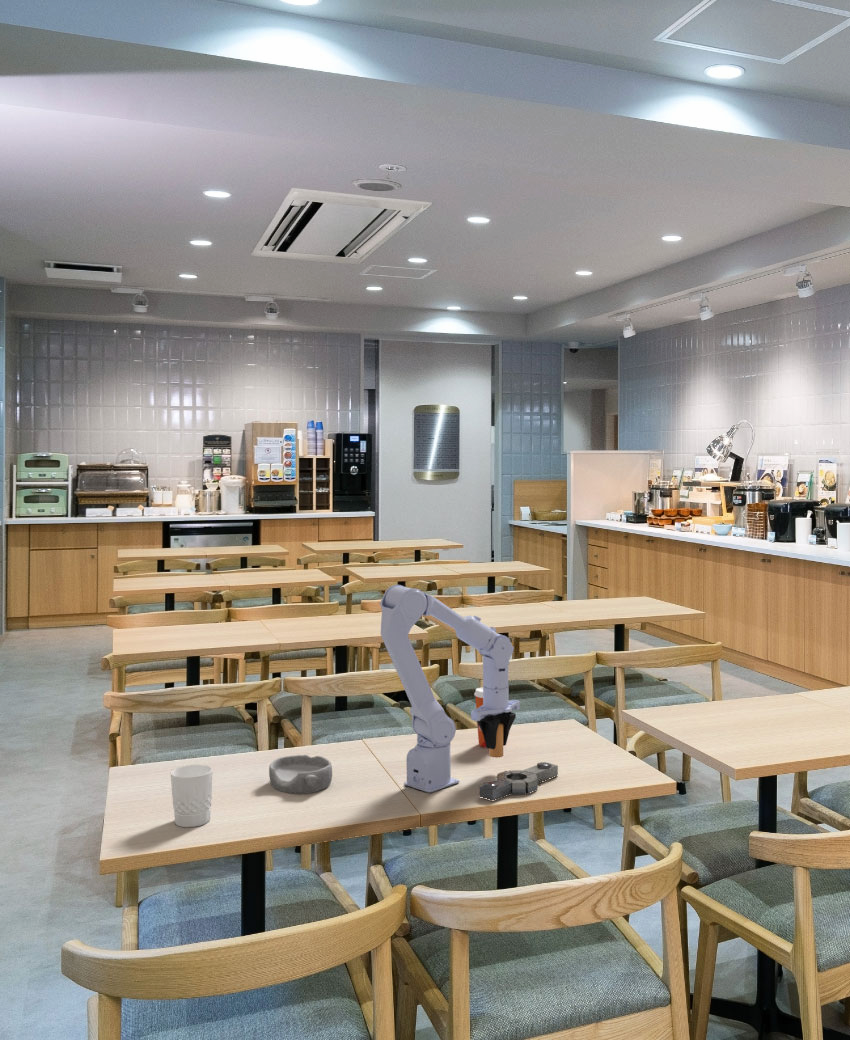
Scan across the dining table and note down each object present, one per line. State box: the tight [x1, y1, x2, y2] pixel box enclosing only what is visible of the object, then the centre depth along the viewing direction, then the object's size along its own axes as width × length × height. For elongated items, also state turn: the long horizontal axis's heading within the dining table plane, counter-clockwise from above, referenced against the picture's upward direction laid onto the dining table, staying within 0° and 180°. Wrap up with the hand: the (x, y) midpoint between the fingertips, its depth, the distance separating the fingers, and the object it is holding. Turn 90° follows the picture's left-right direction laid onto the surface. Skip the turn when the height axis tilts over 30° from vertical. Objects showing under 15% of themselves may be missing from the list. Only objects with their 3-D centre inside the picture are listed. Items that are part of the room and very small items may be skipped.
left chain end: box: [478, 779, 538, 800], centre depth 193 cm, size 14×8×3 cm, turn 135°
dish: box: [268, 754, 333, 795], centre depth 199 cm, size 14×14×5 cm
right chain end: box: [496, 761, 559, 789], centre depth 197 cm, size 16×8×3 cm, turn 135°
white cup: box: [170, 764, 213, 828], centre depth 178 cm, size 8×8×10 cm
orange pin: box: [488, 723, 504, 758], centre depth 205 cm, size 3×3×7 cm
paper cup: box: [473, 686, 486, 748], centre depth 226 cm, size 8×8×14 cm
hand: (496, 746), depth 205 cm, fingers closed on orange pin, 3 cm apart
